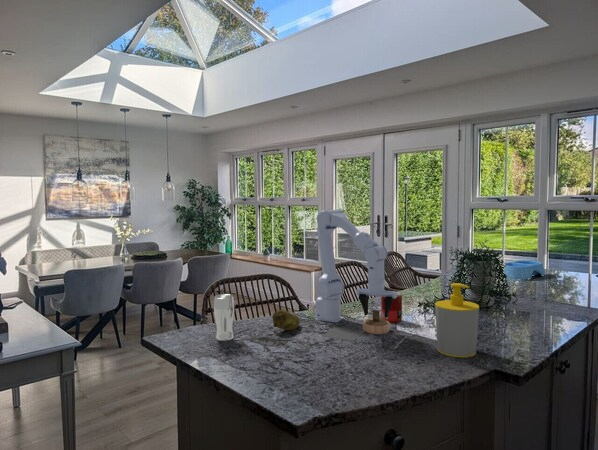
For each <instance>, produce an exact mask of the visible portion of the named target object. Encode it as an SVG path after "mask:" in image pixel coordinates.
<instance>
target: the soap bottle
mask: <svg viewBox="0 0 598 450" xmlns="http://www.w3.org/2000/svg"><path fill="white" fill-rule="evenodd" d="M450 287H452V293H451V294H450V296H449V297H450V299H444V300H438V301H436V302H435V304H434V307H435V309H434V310H435V312H434V313H435V324H436V325H435V328H436V343H437V344H436V346H437V351H438V352H439V353H441V354H443V355H446V356H448V357H454V358H470V357H474V356H476V355H477V345H478V343H477V342H478V329H479V328H478V327H479V316H480V314H479V313H480V305H479V304H477V303H475V302H471V301H466V300H464V295H463V294H462V291H461V289H462V288H464V289H470V286H468V285H466V284H463V283H458V282H457V283H456V282H452V283H450Z"/></svg>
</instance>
